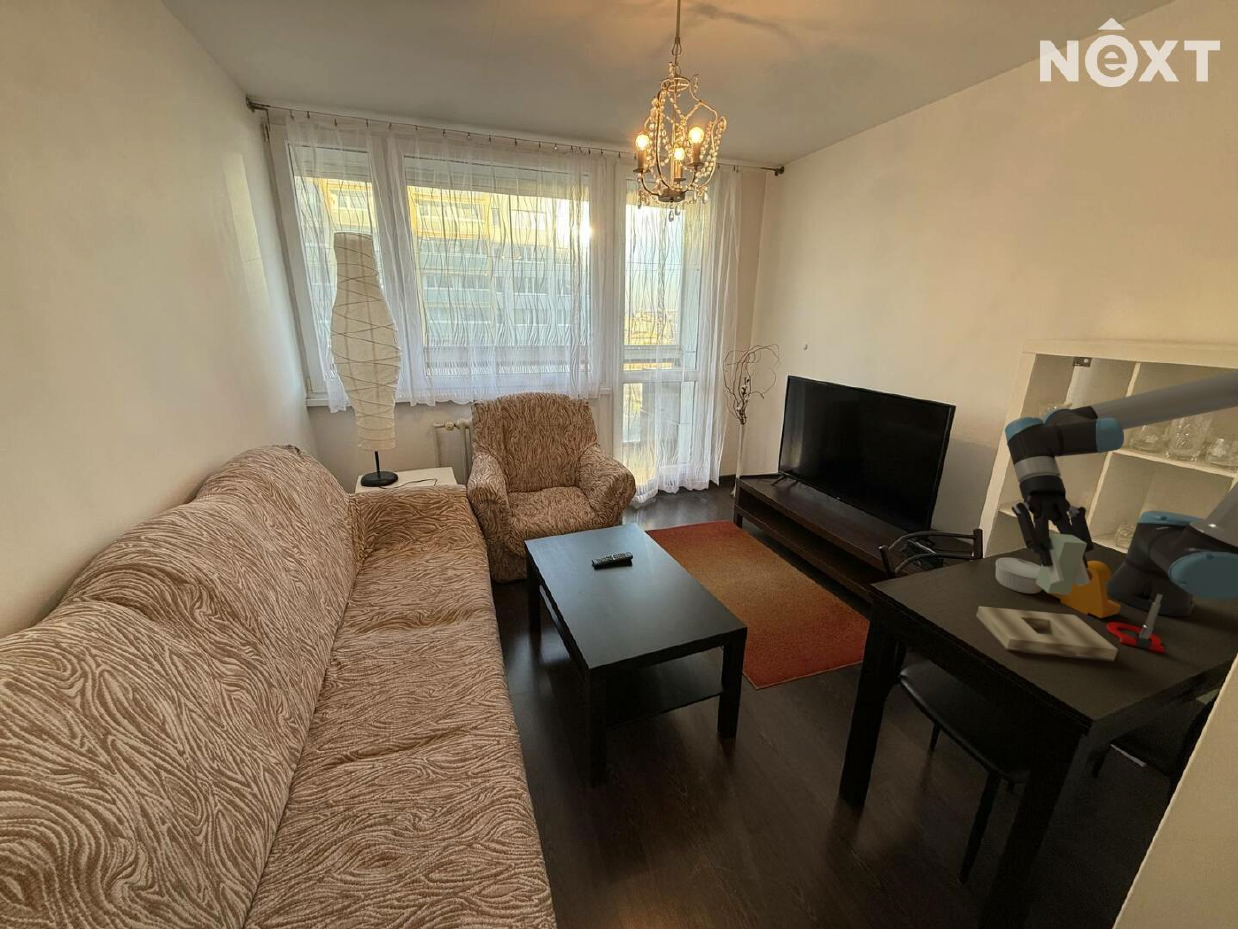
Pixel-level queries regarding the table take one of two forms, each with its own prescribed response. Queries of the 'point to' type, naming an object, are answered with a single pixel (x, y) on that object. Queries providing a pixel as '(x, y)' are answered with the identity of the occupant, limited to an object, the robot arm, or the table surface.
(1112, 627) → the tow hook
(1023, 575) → the ramekin
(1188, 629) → the table surface
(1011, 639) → the block with square hole
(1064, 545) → the peg
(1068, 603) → the bracket
